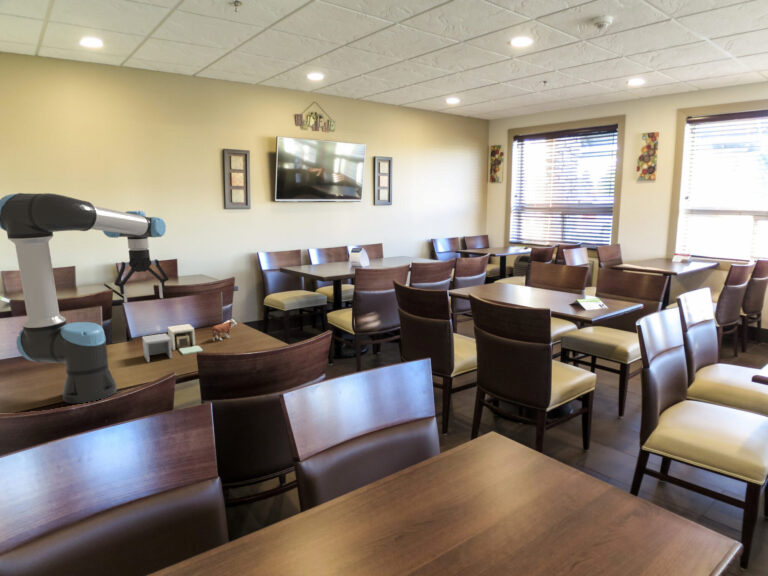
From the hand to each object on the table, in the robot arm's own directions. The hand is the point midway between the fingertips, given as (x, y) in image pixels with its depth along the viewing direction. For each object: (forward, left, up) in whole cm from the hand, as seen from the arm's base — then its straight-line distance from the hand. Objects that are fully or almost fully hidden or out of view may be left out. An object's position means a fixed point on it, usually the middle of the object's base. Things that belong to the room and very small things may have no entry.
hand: (143, 299), depth 207 cm
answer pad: (-13, -15, -21) cm, 29 cm away
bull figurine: (-2, -31, -22) cm, 38 cm away
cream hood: (-3, -13, -21) cm, 25 cm away
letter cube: (-3, -13, -22) cm, 25 cm away
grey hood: (-14, -2, -21) cm, 25 cm away
